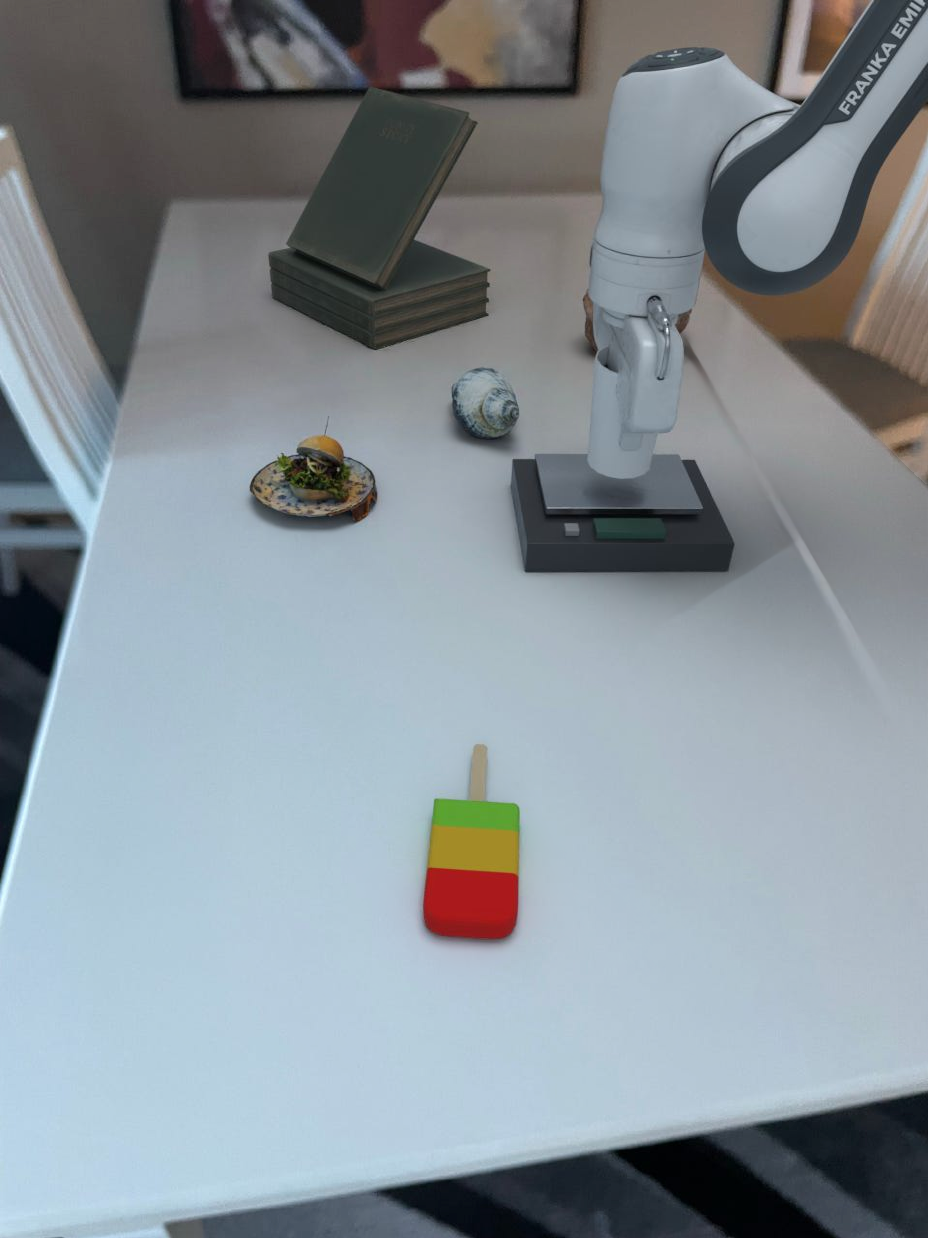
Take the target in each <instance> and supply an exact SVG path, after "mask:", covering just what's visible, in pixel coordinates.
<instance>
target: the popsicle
mask: <svg viewBox="0 0 928 1238" xmlns="http://www.w3.org/2000/svg"><path fill="white" fill-rule="evenodd" d="M471 761H472V762H471V775H470V786H469V787H470V788H469V800H468V799H467V800H465V799H454V798H453V799H451V798H434V800H433V807H432V818H431V826H430V836H429V844H428V854H427V862H426V863H427V864H426V874H425V882H424V890H423V891H424V892H423V900H422V916H423V922H424V924H425V927H426V928H427V929H428V930H429V931H430V932H432V933H434V934H436V935H438V936H444V937H452V938H467V939H482V940H500V939H504V938H507V937H508V936H510V934H512V932H513V931H514V930H515V928H516V925H517V921H518V914H519V883H520V882H519V880H520V824H521V823H520V821H521V812H520V811H521V810H520V807H519V805H518V804H517V803H513V802H499V801H486V799H485V798H486V783H487V781H486V780H487V766H488V765H487V764H488V763H487V762H488V746H487V745H486V744H484V743H483V744H482V743H476V744H474V745H473V747H472V759H471Z"/></svg>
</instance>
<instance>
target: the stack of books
mask: <svg viewBox="0 0 928 1238" xmlns="http://www.w3.org/2000/svg"><path fill="white" fill-rule="evenodd" d="M478 123H479V122H478V121H477V120H473V119H472V118H470V112H469V111H467V110H462V109H458V108H455V107H450V106H446V105H443V104H440V103H435V102H431V101H428V100H425V99H421V98H416V97H412V96H408V95H405V94H401V93H397V92H393V91H389V90H385V89H381V88H377V87H374V86H369V87H368V88H367V90H366V93H365V95H364V96H363V98H362V100H361V102H360V104H359V106H358V108H357V109H356V112H355V113H354V114H353V116H352V119H351V121H350V122H349V125H348V127H347V128H346V130H345V132H344V134H343V136H342V138H341V139H340V141H339V143H338V145H337V147H336V149H335V150H334V153H333V154H332V156H331V158H330V160H329V162H328V164H327V166H326V167H325V170H324V171H323V173H322V175H321V176H320V179H319V181H318V183H317V184H316V187H315V188H314V190H313V191H312V194H311V196H310V197H309V199H308V201H307V203H306V205H305V207H304V208H303V211H302V213H301V214H300V217H298V220H297V222H296V224H295V225H294V227H293V230H292V231H291V233H290V234H289V237H288V238H287V240H286V242H285V245H286V246H288V247H287V248H282V249H278V250H274V251H269V252H268V255H267V256H268V264H269V276H270V277H269V278H270V283H271V284H270V289H271V297H272V298H273V299H274V300H277V301H279V302H281V303H283V304H285V305H287V306H289V307H291V308H293V309H294V310H297V311H298V312H301V313H303V314H304V315H307V316H309V317H310V318H312V319H314V320H317V321H318V322H319V323H322V324H324V325H326V326H328V327H330V328H331V329H334V330H336V331H338V332H340V333H342V334H343V335H346V336H347V337H349V338H352V339H354V340H356V341H358V342H359V343H362V344H364V345H365V346H367V347H369V348H372V349H374V350H378V349H383V348H386V347H388V346H391V345H392V346H393V345H395V344H399V343H401V342H405V341H408V340H411V339H414V338H419V337H421V336H425V335H428V334H431V333H434V332H437V331H441V330H444V329H448V328H452V327H454V326H458V325H461V324H464V323H468V322H471V321H474V320H478V319H481V318H484V317H487V316H489V313H488V312H487V304H488V303H490V298H489V297H487V295H488V288H490V286H491V284H490V282H488V277H489V276H488V275H489V274H488V273H490V272H491V268H489V267H486V266H483V265H481V264H478V263H477V262H473V261H470V260H468V259H466V258H463V257H460V256H457V255H455V254H453V253H450V252H448V251H446V250H445V251H444V250H442V249H440V248H437V247H435V246H433V245H430V244H427V243H424V242H421V241H419V240H417V239H416V236H417V234H418V233H419V232H420V229H421V227H422V225H423V224H424V222H425V220H426V218H427V217H428V214H429V213H430V210H431V209H432V207H433V205H434V204H435V202H436V200H437V198H438V196H439V194H440V193H441V191H442V189H443V188H444V186H445V183H446V182H447V180H448V178H449V176H450V174H451V172H452V171H453V169H454V167H455V166H456V164H457V162H458V160H459V158H460V156H461V154H462V153H463V151H464V149H465V148H466V146H467V144H468V142H469V140H470V138H471V136H472V135H473V133H474V132H475V129H476V127H477V125H478Z"/></svg>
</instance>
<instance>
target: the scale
mask: <svg viewBox="0 0 928 1238" xmlns="http://www.w3.org/2000/svg"><path fill="white" fill-rule="evenodd" d="M534 459H535V458H513V459H512V461H511V477H510V488H511V495H512V501H513V506H514V507H513V508H514V513H515V514H514V515H515V519H516V527H517V531H518V538H519V543H520V550H521V556H522V562H523V568H524V572H525V573H554V572H555V573H565V572H566V573H568V572H569V573H587V572H588V573H591V572H592V573H593V572H596V573H597V572H601V573H602V572H606V573H607V572H608V573H614V572H617V573H618V572H619V573H620V572H621V573H622V572H623V573H625V572H626V573H627V572H628V573H629V572H631V573H633V572H636V573H637V572H638V573H639V572H644V573H646V572H647V573H648V572H650V573H653V572H658V573H659V572H665V573H666V572H729V570H730V565H731V561H732V556H733V553H734V548H735V544H736V543H735V541H734V539H733V537H732V534H731V533H730V531H729V528H728V527H727V524H726V522H725V520H724V518H723V516H722V513H721V512H720V509H719V507H718V505H717V503H716V501H715V499H714V497H713V495H712V493H711V490H710V489H709V487H708V485H707V482H706V480H705V478H704V476H703V474H702V472H701V470H700V468H699V465H698V463H697V461H696V460H695V459H681V460H682V462H683V465H684V467H685V469H686V471H687V473H688V476H689V478H690V480H691V482H692V485H693V487H694V489H695V491H696V493H697V496H698V498H699V500H700V502H701V504H702V507H703V512H702V514H701V515H690V514H546V512H545V507H544V503H543V498H542V493H541V489H540V484H539V479H538V474H537V470H536V465H535V460H534Z"/></svg>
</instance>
